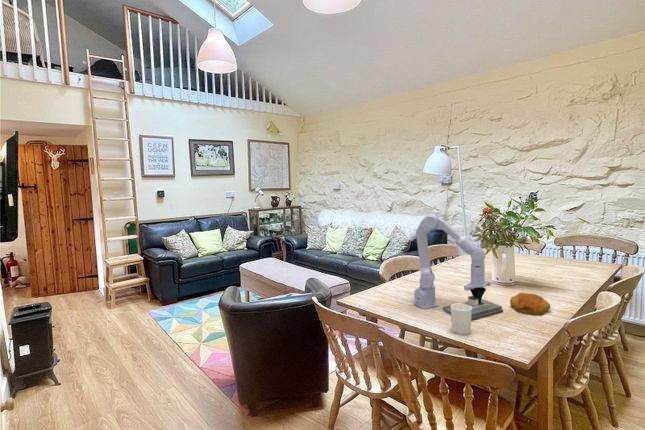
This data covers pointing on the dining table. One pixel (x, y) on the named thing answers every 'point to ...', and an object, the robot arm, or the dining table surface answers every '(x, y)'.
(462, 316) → the white cup
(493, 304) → the breaker panel
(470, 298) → the grey and beige block
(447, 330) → the dining table surface
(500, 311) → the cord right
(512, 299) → the croissant
